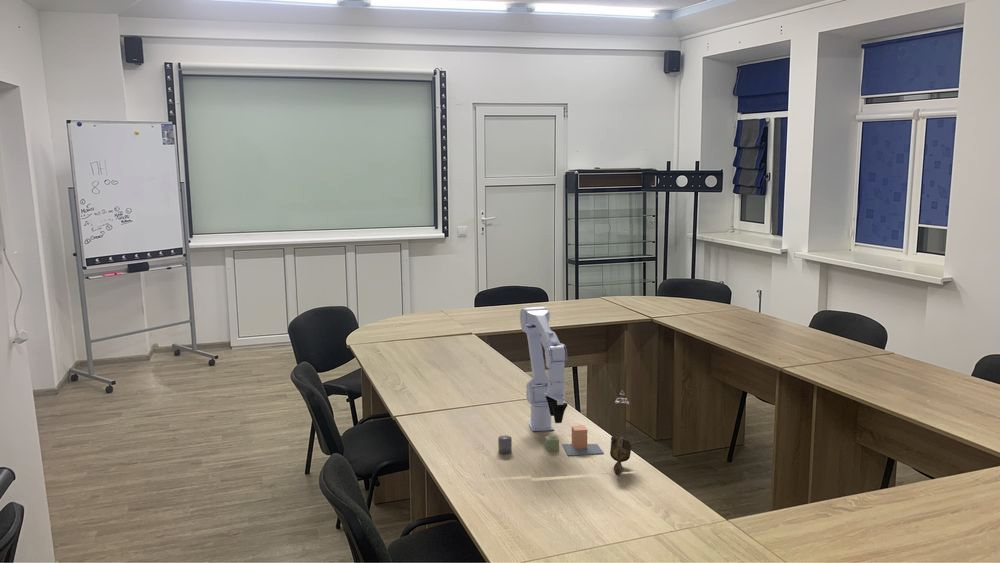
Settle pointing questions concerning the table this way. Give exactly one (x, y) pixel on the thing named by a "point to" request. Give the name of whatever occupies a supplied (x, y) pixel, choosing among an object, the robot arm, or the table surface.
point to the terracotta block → (579, 437)
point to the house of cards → (622, 399)
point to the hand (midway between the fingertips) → (555, 419)
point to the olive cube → (552, 443)
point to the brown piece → (620, 452)
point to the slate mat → (582, 450)
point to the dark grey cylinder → (505, 444)
